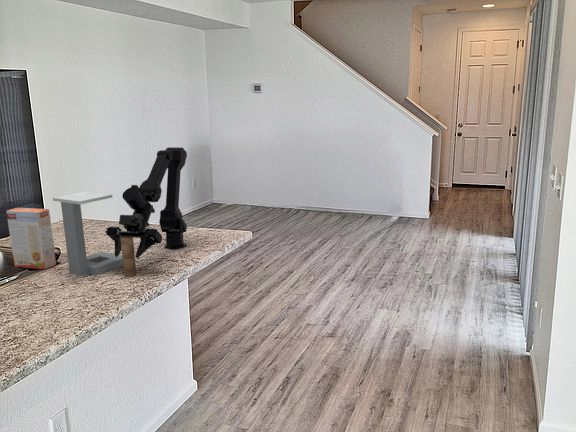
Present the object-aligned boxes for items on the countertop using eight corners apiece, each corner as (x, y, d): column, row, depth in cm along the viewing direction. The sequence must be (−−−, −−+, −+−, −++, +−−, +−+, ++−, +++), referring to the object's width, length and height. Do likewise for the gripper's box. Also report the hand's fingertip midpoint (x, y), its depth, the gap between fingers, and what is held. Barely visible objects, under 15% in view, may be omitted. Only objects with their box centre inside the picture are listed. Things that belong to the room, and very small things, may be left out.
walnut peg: (130, 272, 180) (127, 235, 177) (139, 273, 178) (135, 236, 175) (121, 275, 177) (117, 238, 174) (129, 277, 175) (126, 239, 172)
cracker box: (57, 265, 189) (50, 208, 185) (44, 270, 184) (36, 212, 179) (26, 261, 194) (18, 206, 189) (13, 267, 188) (5, 210, 184)
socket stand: (102, 257, 196) (95, 189, 190) (128, 263, 189) (121, 192, 183) (62, 271, 182) (52, 197, 176) (88, 277, 175) (79, 201, 169)
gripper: (105, 203, 178) (89, 243, 170) (155, 205, 173) (140, 246, 165) (121, 220, 187) (106, 259, 179) (168, 222, 182) (155, 263, 175)
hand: (126, 257), depth 174 cm, fingers open, 7 cm apart
